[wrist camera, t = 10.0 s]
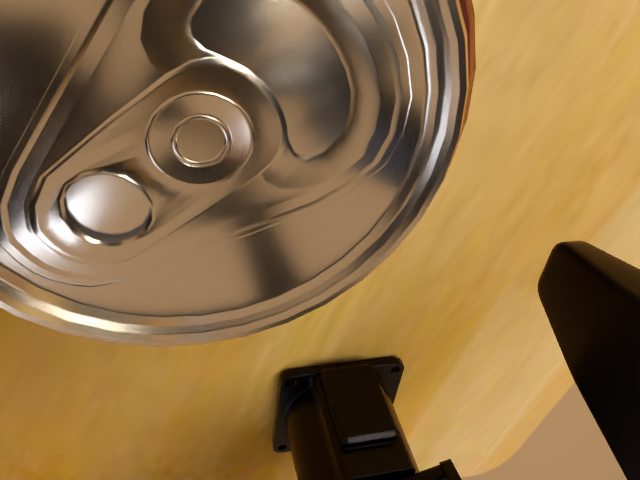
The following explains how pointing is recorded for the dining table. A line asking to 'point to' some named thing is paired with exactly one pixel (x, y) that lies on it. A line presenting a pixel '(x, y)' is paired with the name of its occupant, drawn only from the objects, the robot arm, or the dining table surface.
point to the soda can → (217, 156)
